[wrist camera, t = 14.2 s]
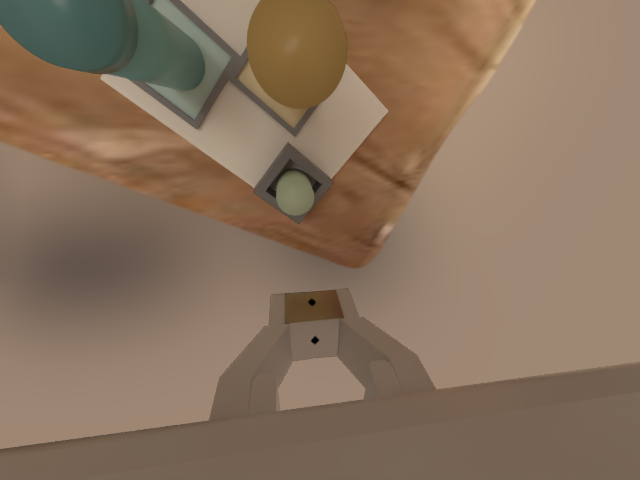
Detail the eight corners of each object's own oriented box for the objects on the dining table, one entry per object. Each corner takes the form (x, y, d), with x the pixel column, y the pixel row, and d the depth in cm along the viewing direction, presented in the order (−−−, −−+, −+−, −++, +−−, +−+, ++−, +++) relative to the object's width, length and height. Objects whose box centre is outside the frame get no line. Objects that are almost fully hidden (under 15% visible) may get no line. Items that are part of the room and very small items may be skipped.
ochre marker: (286, 29, 20) (298, -50, 9) (321, 76, 22) (366, 57, 11) (251, 71, 21) (224, 46, 10) (288, 113, 23) (298, 129, 12)
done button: (290, 161, 23) (291, 170, 20) (316, 182, 25) (322, 194, 21) (270, 187, 24) (268, 201, 21) (296, 206, 26) (298, 222, 22)
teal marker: (164, 12, 19) (-8, -134, 8) (216, 58, 20) (137, -7, 9) (139, 64, 20) (-43, 2, 9) (190, 103, 21) (92, 94, 10)
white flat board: (192, -103, 17) (172, -150, 14) (384, 110, 25) (398, 111, 22) (109, 80, 21) (78, 75, 18) (297, 215, 29) (299, 228, 26)
